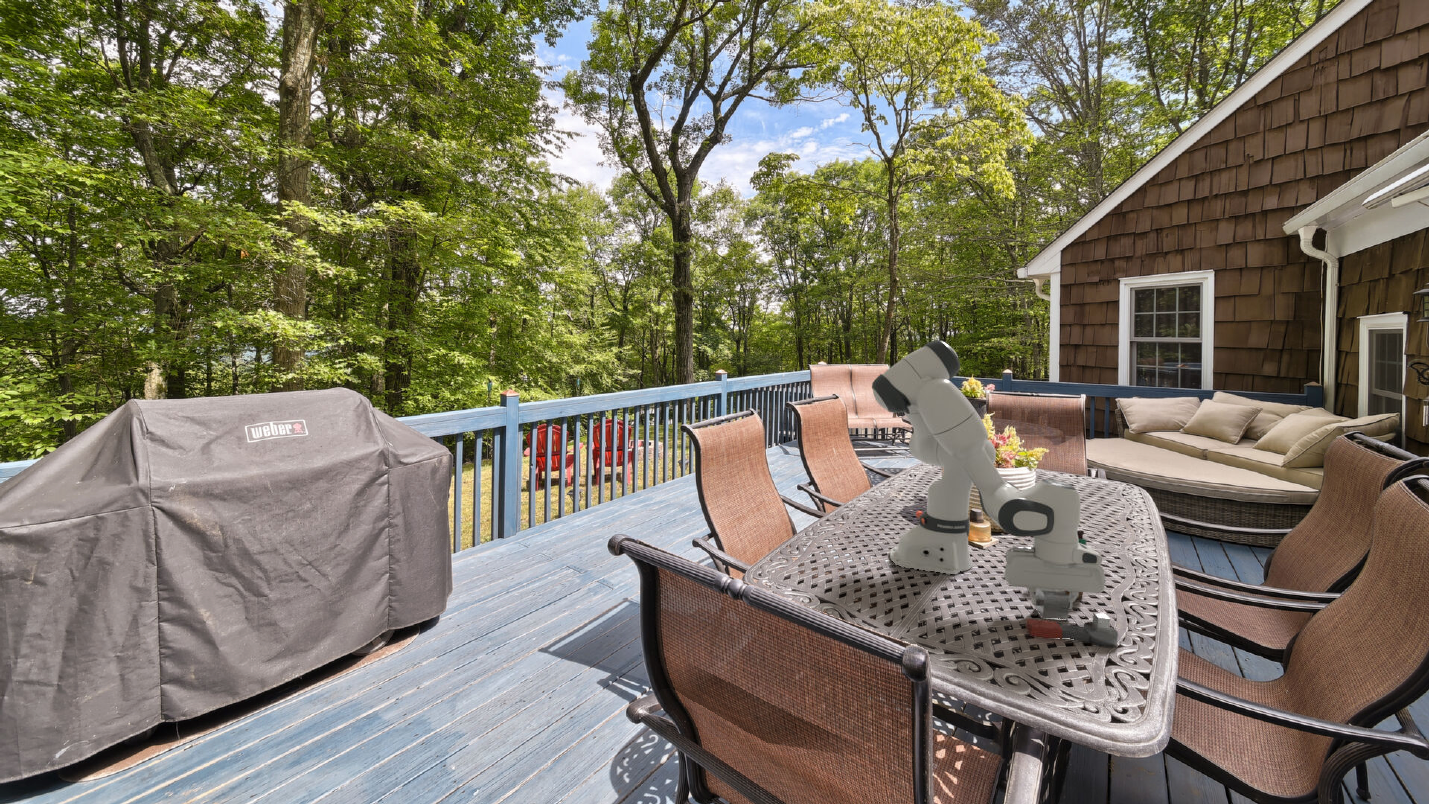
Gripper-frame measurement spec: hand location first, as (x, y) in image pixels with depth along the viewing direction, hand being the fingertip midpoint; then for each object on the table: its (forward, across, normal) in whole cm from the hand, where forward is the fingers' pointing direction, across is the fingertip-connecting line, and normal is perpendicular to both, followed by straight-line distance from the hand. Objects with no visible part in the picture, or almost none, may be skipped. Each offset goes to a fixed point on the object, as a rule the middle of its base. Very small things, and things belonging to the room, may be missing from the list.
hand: (1051, 606), depth 127 cm
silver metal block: (+2, 0, 0) cm, 2 cm away
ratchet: (+2, +1, -10) cm, 10 cm away
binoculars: (+2, +17, +36) cm, 40 cm away
